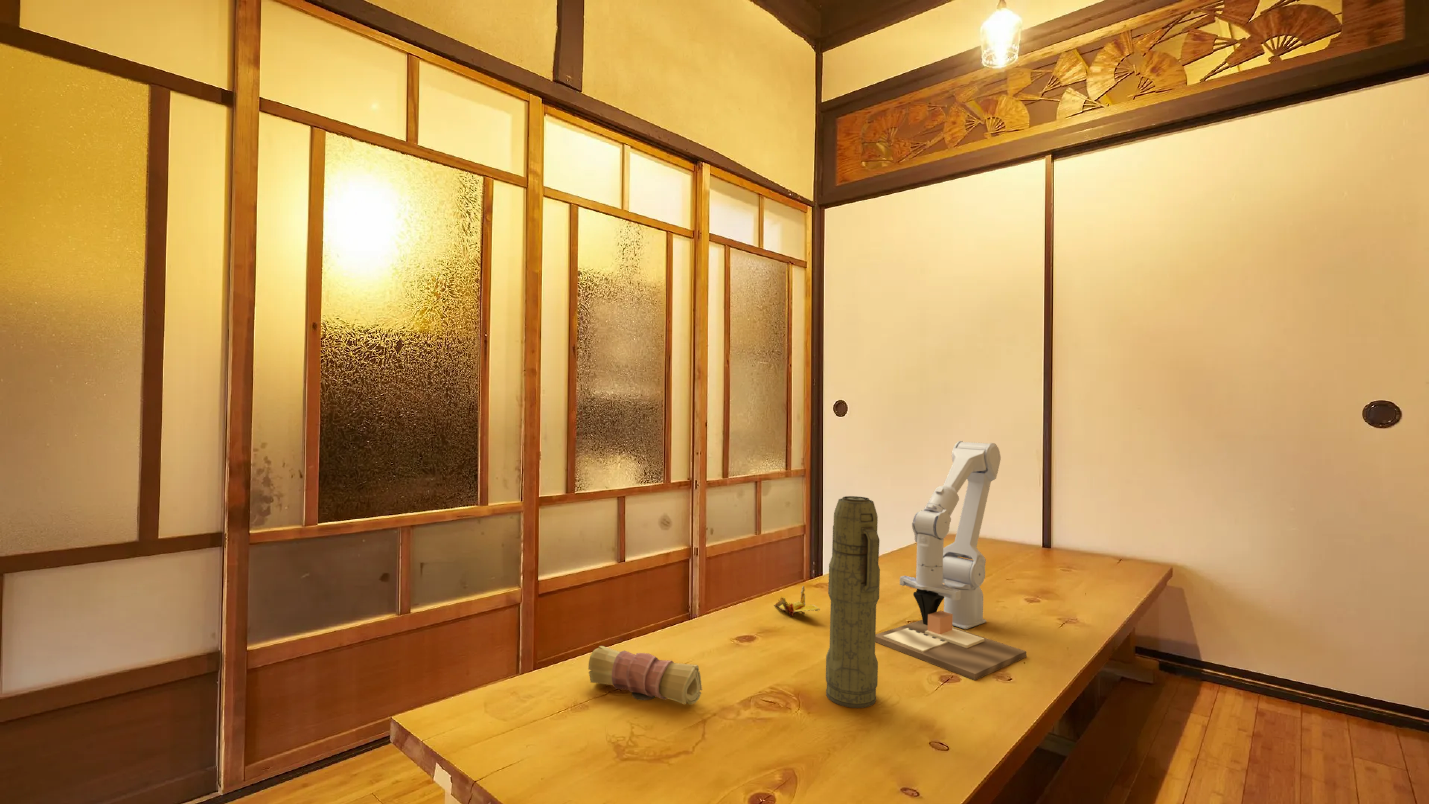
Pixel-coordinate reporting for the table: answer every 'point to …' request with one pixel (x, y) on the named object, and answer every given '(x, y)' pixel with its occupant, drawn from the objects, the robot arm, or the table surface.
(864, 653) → the thermos
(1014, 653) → the board
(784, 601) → the origami crane
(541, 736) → the table surface
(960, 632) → the stub
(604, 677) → the scroll
